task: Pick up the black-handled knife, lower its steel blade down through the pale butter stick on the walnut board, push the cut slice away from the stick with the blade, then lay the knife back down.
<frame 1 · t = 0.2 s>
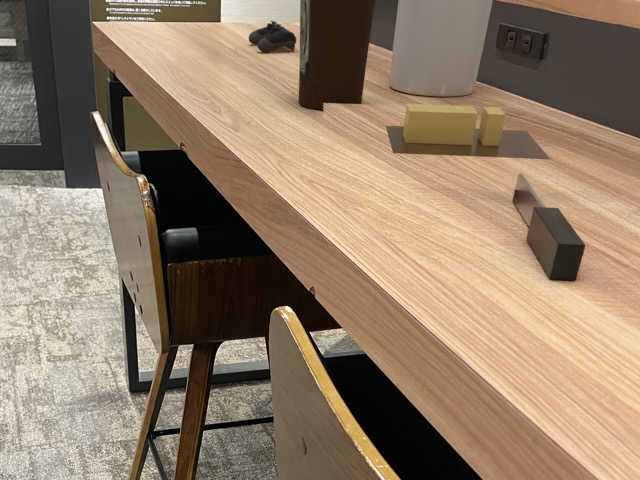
utensil holder: (432, 90, 134), on the table
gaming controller: (272, 49, 164), on the table
cutting board: (461, 154, 101), on the table
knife: (549, 259, 73), on the table
butter slice: (488, 142, 100), point 1 cm above the table, touching cutting board
butter block: (436, 140, 100), resting on cutting board
olive oil: (329, 105, 123), on the table
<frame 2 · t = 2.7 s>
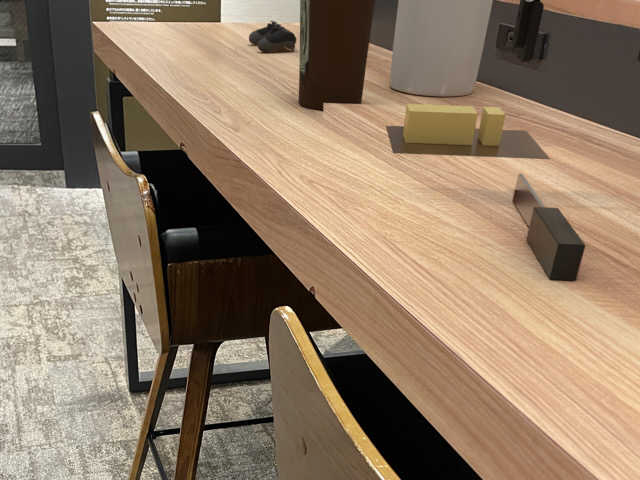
hand: (584, 61, 65), 15 cm above the table, tool pointing down, fingers open, 9 cm apart
nothing on the table moved.
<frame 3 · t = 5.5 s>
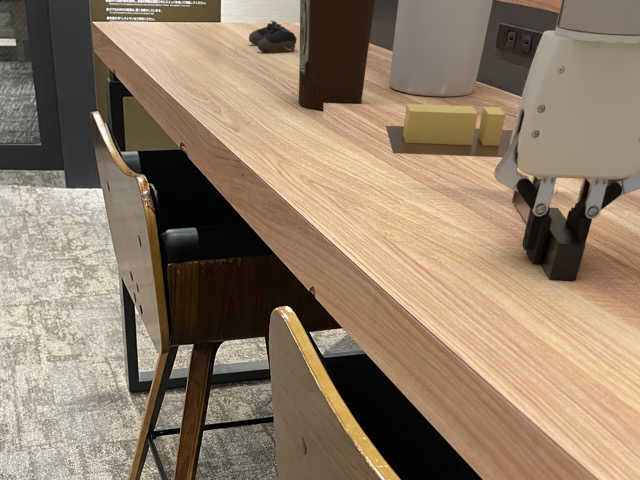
hand: (549, 257, 72), 0 cm above the table, tool pointing down, fingers closed on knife, 2 cm apart
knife: (549, 259, 72), on the table, touching gripper
everything else where it was.
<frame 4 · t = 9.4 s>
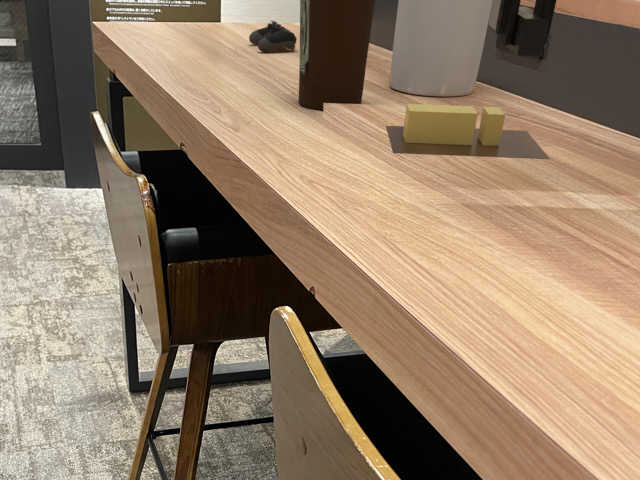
hand: (519, 42, 81), 14 cm above the table, tool pointing down, fingers closed on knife
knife: (518, 48, 81), point 13 cm above the table, touching gripper
everything else where it was.
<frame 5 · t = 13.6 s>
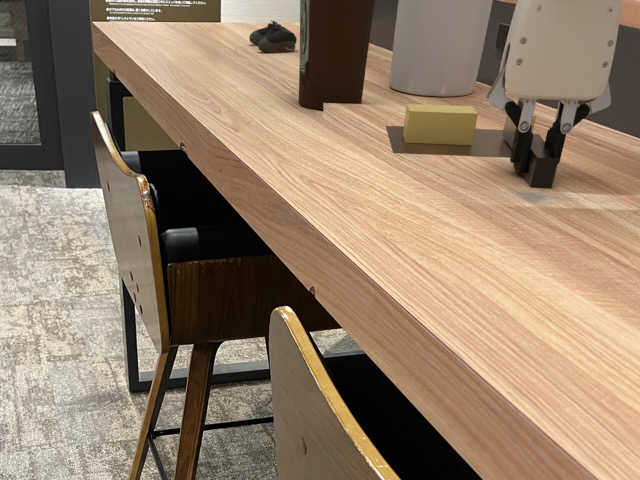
hand: (532, 169, 88), 2 cm above the table, tool pointing down, fingers closed on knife, 2 cm apart
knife: (531, 174, 89), point 1 cm above the table, touching gripper
butter slice: (517, 143, 100), point 1 cm above the table, touching cutting board
everything else where it was.
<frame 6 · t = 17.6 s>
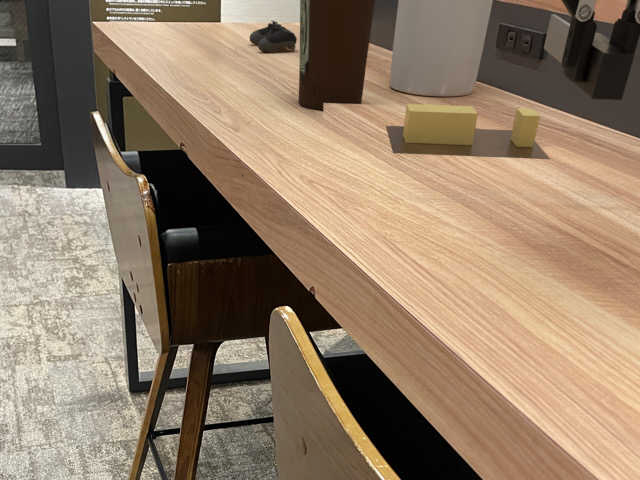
hand: (592, 77, 64), 14 cm above the table, tool pointing down, fingers closed on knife
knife: (590, 86, 65), point 14 cm above the table, touching gripper
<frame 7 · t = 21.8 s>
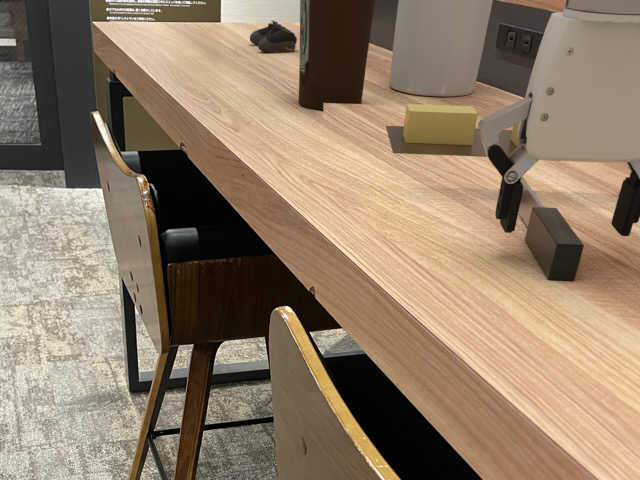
hand: (562, 229, 71), 3 cm above the table, tool pointing down, fingers open, 9 cm apart
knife: (548, 259, 72), on the table
everything else where it was.
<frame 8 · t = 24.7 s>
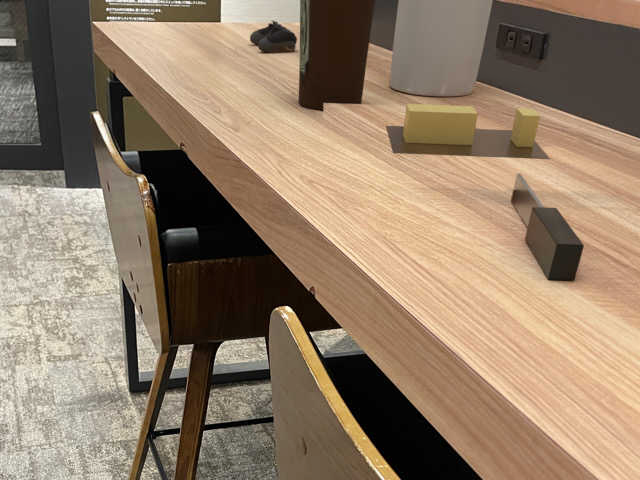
nothing on the table moved.
at the end: butter slice moved 4.0 cm from its start; butter slice 0.3 cm from the target spot on the cutting board, point 1.5 cm above the cutting board's base; the gripper is holding nothing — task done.
